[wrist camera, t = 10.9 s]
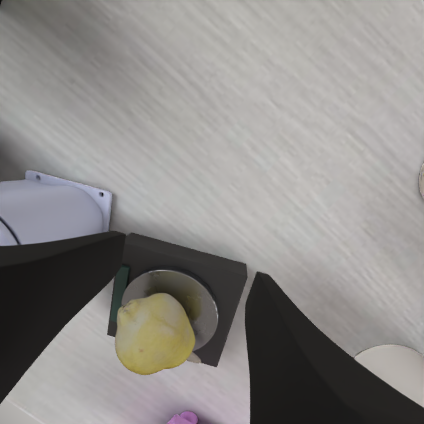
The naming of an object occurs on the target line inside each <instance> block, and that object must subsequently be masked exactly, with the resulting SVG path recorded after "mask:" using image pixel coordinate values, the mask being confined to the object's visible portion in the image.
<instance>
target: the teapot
mask: <svg viewBox="0 0 424 424" xmlns="http://www.w3.org/2000/svg"><path fill="white" fill-rule="evenodd" d="M197 421H198V418H197V416H196V415H195V414H194V413H193V412H189V411H185V412H183V413H181V415H180V416H179V415H177V414H175V415H174V417H173V418H172V419H171V420H170V421H169V422H168V423H167V424H197Z"/></svg>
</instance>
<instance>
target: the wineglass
mask: <svg viewBox="0 0 424 424" xmlns="http://www.w3.org/2000/svg"><path fill="white" fill-rule="evenodd" d="M419 189H420V193H421V195H422V197H423V199H424V163H423V165H422V167H421V170H420V174H419Z"/></svg>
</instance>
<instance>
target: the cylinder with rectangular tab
mask: <svg viewBox="0 0 424 424" xmlns="http://www.w3.org/2000/svg"><path fill="white" fill-rule="evenodd" d="M354 359H355V360H356V361H357V362H359V363H360V364H361V365H363V366H364V367H365V368H367V369H368V370H369V371H371V372H372V373H373V374H375V375H376V376H378V377H379V378H380V379H382V380H383V381H385V382H386V383H388V384H389V385H390V386H392V387H393V388H395V389H396V390H397V391H399V392H400V393H402V394H403V395H405V396H407V397H408V398H410V399H411V400H413V401H414V402H416V403H417V404H419V405H421V406H422V407H424V357H423V355H422V354H420V353H419V352H417V351H415V350H414V349H411V348H408V347H405V346H402V345H393V344H389V345H379V346H375V347H372V348H368V349H367V350H365V351H363V352H361V353H359V354H358V355H357V356H356V357H354Z"/></svg>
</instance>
